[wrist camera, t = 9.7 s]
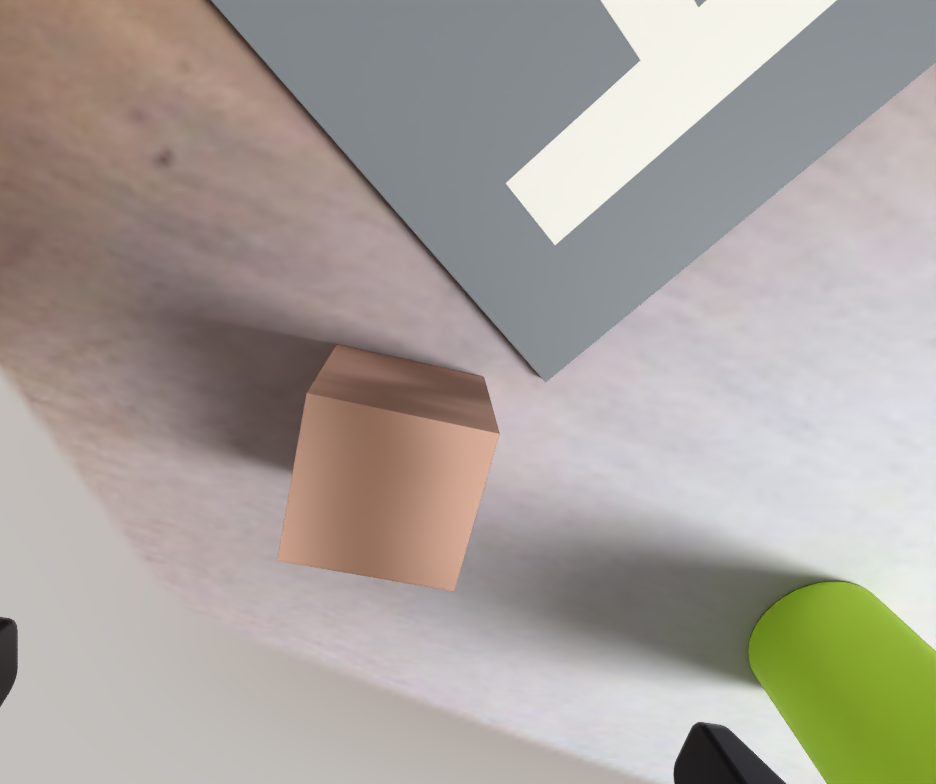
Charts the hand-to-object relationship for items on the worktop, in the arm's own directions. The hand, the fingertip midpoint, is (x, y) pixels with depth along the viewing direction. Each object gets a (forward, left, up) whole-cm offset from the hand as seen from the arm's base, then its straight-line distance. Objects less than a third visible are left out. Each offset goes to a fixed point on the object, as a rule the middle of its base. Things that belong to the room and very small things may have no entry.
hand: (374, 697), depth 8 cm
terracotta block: (-1, +1, -13) cm, 13 cm away
